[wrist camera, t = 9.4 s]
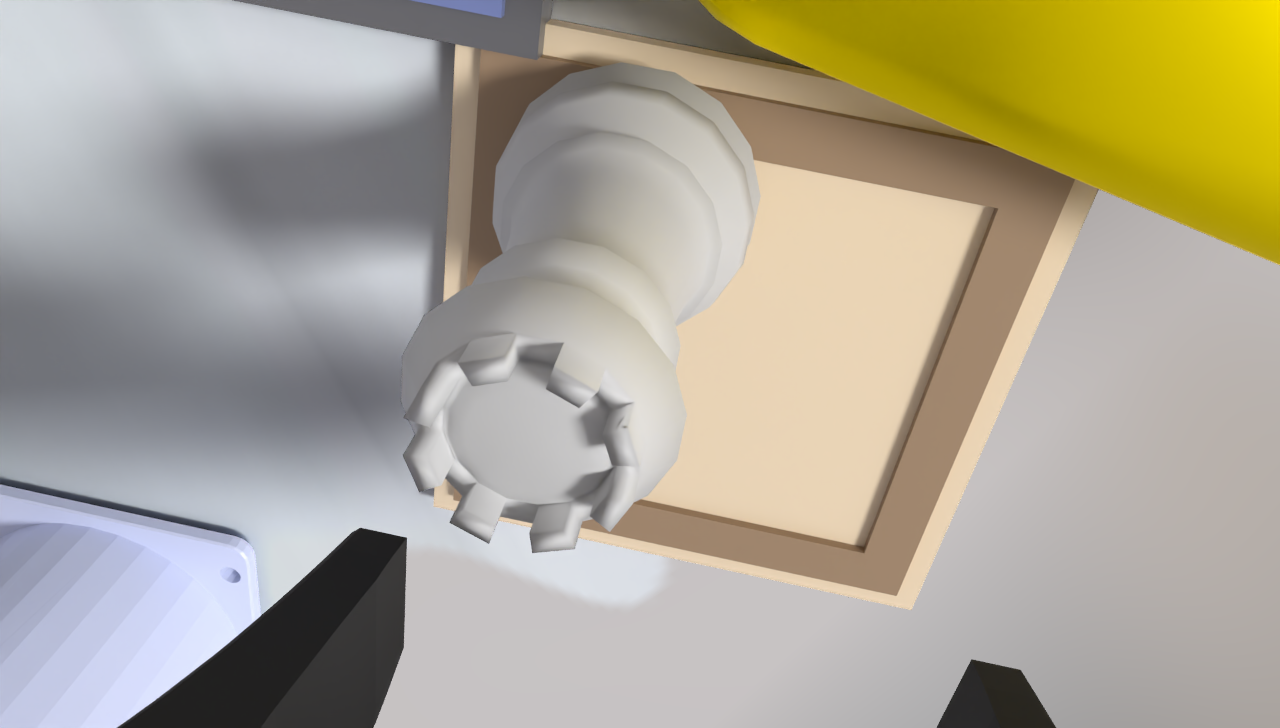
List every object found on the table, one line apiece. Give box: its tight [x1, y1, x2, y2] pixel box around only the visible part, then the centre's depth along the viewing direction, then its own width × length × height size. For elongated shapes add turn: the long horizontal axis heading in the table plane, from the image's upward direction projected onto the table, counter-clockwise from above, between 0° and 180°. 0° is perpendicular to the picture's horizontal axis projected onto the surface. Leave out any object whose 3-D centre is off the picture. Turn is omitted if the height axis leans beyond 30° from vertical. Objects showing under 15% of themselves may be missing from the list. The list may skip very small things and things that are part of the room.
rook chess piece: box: [401, 62, 761, 553], centre depth 13 cm, size 4×4×8 cm
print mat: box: [434, 19, 1099, 610], centre depth 18 cm, size 11×11×1 cm
